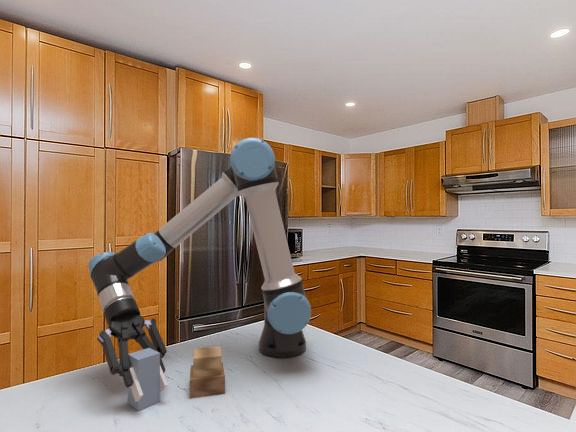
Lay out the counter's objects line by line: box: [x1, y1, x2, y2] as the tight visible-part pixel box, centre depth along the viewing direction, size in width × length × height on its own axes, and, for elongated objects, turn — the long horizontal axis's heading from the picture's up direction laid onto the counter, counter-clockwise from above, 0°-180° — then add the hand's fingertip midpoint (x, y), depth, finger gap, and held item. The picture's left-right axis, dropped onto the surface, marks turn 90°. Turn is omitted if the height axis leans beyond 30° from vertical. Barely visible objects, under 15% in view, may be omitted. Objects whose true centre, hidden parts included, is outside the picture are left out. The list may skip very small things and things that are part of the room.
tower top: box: [192, 345, 223, 378], centre depth 83 cm, size 6×6×4 cm
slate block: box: [127, 348, 161, 412], centre depth 76 cm, size 5×5×11 cm
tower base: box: [189, 361, 226, 399], centre depth 83 cm, size 8×8×4 cm
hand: (152, 392), depth 74 cm, fingers closed on slate block, 5 cm apart
